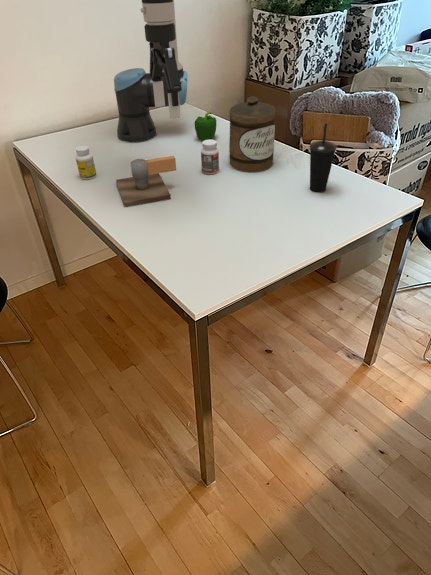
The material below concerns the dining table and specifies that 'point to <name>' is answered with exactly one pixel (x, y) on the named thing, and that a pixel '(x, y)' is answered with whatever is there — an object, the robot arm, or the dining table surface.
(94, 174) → the supplement bottle
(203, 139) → the bell pepper
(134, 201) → the base
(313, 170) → the drinking cup
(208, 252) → the dining table surface
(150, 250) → the dining table surface
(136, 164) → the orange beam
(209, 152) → the pill bottle
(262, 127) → the wooden container
